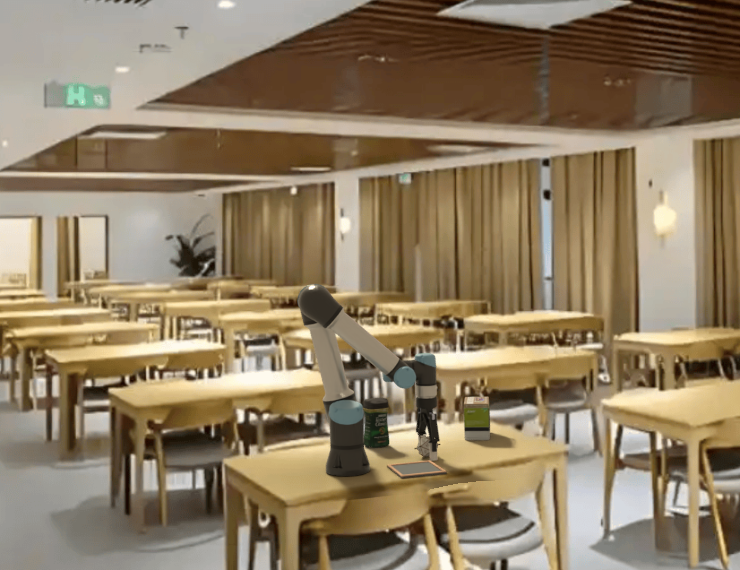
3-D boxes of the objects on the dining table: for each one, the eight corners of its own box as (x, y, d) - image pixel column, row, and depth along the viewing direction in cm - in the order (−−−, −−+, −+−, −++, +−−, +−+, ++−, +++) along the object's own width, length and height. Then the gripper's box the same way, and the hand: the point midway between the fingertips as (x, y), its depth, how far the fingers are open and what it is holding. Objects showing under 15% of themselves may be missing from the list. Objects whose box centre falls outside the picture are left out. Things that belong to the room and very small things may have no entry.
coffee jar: (370, 449, 345) (369, 400, 344) (360, 445, 352) (359, 397, 351) (393, 446, 349) (391, 398, 348) (382, 442, 356) (381, 395, 355)
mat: (401, 478, 303) (401, 475, 303) (386, 467, 318) (386, 464, 318) (446, 473, 307) (446, 471, 307) (430, 462, 322) (430, 460, 322)
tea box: (465, 432, 371) (464, 396, 370) (490, 432, 370) (489, 396, 369) (464, 440, 356) (463, 402, 355) (490, 440, 355) (489, 402, 354)
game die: (432, 468, 329) (438, 450, 323) (409, 459, 331) (415, 441, 325) (439, 451, 336) (445, 433, 330) (417, 442, 338) (423, 424, 332)
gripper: (447, 401, 319) (449, 463, 320) (425, 390, 342) (426, 448, 343) (427, 402, 317) (429, 465, 318) (406, 392, 340) (407, 450, 341)
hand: (428, 456), depth 331 cm, fingers open, 11 cm apart
